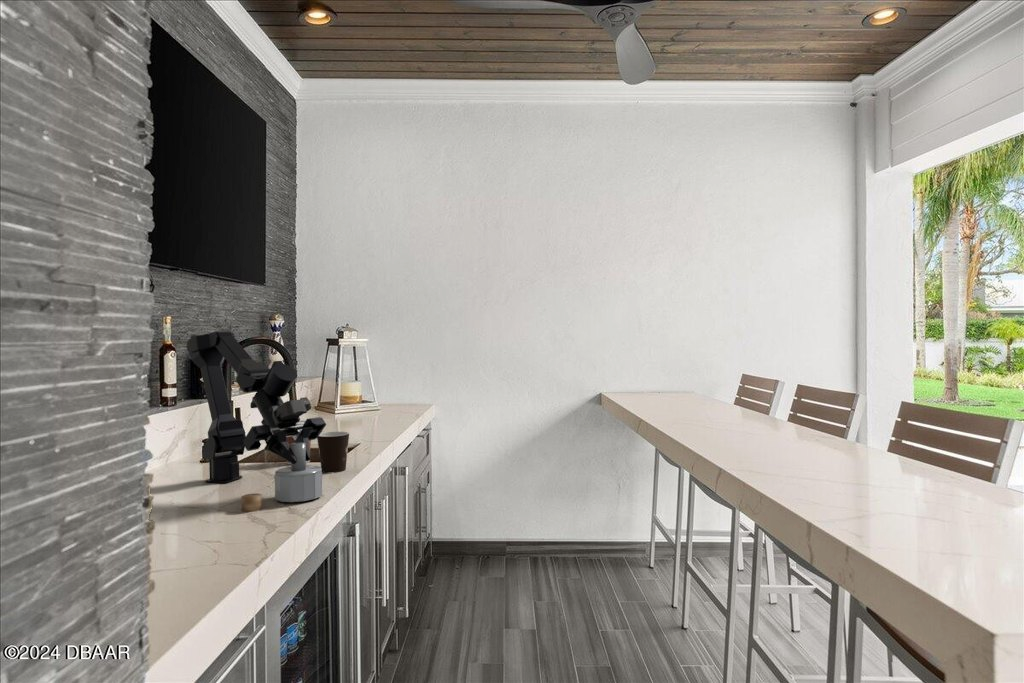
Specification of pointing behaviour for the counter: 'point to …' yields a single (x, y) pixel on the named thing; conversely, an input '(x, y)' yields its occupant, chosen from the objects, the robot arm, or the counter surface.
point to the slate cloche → (298, 478)
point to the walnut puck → (251, 502)
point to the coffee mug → (333, 451)
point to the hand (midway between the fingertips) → (302, 461)
